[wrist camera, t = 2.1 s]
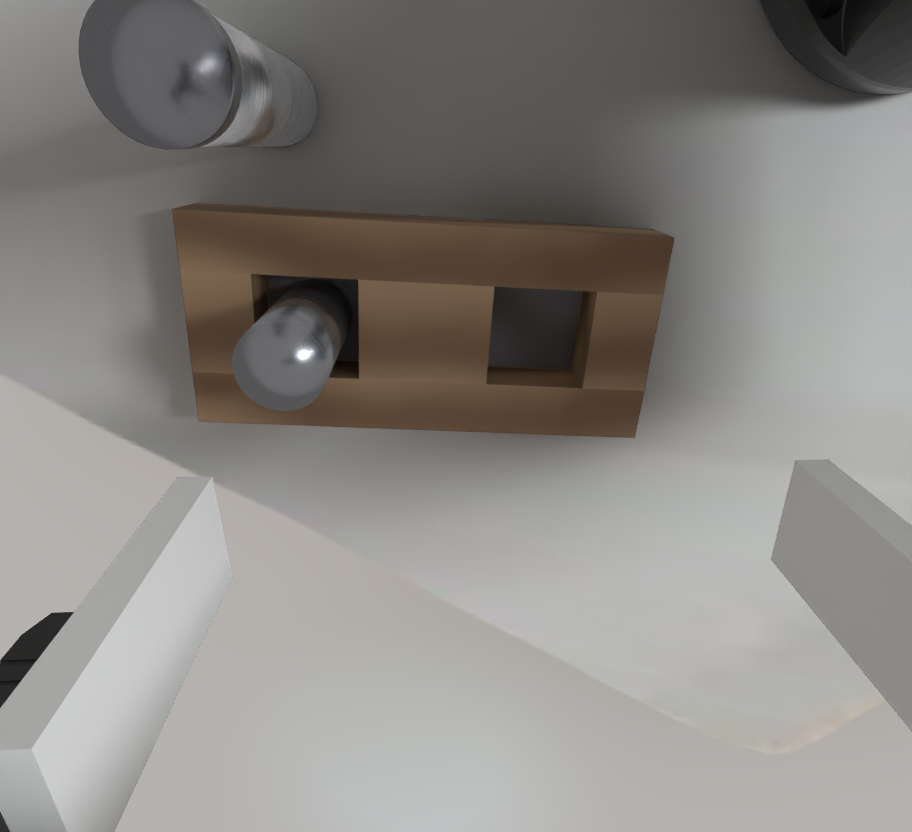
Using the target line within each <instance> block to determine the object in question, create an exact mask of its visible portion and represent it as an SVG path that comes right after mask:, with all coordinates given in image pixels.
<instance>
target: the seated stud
mask: <svg viewBox="0 0 912 832" xmlns="http://www.w3.org/2000/svg"><path fill="white" fill-rule="evenodd" d="M351 324H352V310H351V306H350V303H349V301H348V299H347V298H346V296H345V295H344V294H343V292H342V291H341V290H340V289H338V288H337V287H336V286H334V285H333V284H331V283H329V282H326V281H323V280H318V279H308V280H303V281H300V282H298V283H296V284H295V285H293V286H292V287H291V288H289V289H288V290H287V291H286V292H285V293H284V294H283V295H282V296H281V297H280V298H279V299H278V300H277V301H276V302H275V303H274V304H273V305H272V306H271V308H270V309H269V310H268V311H267V312H266V313H265V314H264V315H263V316H262V317H261V318H260V319H259V320H258V321H257V322H256V323H255V324H254V325H253V326H252V327H251V328H250V329H249V330H248V331H247V332H246V333H245V334H244V335H243V336H242V337H241V338H240V339H239V341H238V342H237V344H236V346H235V349H234V352H233V357H232V368H233V373H234V376H235V379H236V381H237V383H238V385H239V386H240V388H241V389H242V391H243V392H244V393H245V394H246V395H247V396H248V397H249V398H250V399H252V400H253V401H254V402H256V403H257V404H259V405H261V406H263V407H266V408H269V409H272V410H277V411H292V410H297V409H300V408H303V407H305V406H307V405H309V404H310V403H312V402H313V401H314V400H315V399H316V398H317V397H318V396H319V395H320V393H321V392H322V390H323V388H324V386H325V384H326V382H327V380H328V377H329V375H330V373H331V371H332V368H333V366H334V364H335V362H336V359H337V357H338V355H339V353H340V350H341V348H342V346H343V344H344V341H345V339H346V337H347V335H348V332H349V330H350V327H351Z"/></svg>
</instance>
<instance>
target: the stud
mask: <svg viewBox="0 0 912 832" xmlns="http://www.w3.org/2000/svg"><path fill="white" fill-rule="evenodd" d="M79 59H80V66H81V70H82V75H83V78H84V80H85V83H86V86H87V88H88V90H89V93H90V95H91V97H92V98H93V100H94V102H95V103H96V105H97V106H98V108H99V109H100V111H101V112H102V113H103V115H104V116H105V117H106V118H107V119H108V120H109V121H110V122H111V123H112V124H113V125H114V126H115V127H116V128H117V129H119V130H120V131H121V132H123V133H124V134H125V135H127V136H128V137H130V138H132V139H134V140H136V141H137V142H140V143H142V144H145V145H147V146H151V147H155V148H161V149H192V148H198V147H246V146H289V145H293V144H295V143H297V142H299V141H301V140H302V139H304V138H305V137H306V136H307V135H308V133H309V132H310V131H311V129H312V128H313V126H314V123H315V120H316V117H317V110H318V104H317V96H316V92H315V89H314V86H313V84H312V82H311V80H310V79H309V77H308V76H307V74H306V73H305V72H304V71H303V70H302V69H301V68H300V67H299V66H298V65H297V64H295V63H294V62H292V61H290V60H289V59H287V58H285V57H284V56H282V55H280V54H279V53H277V52H275V51H274V50H272V49H270V48H269V47H267V46H265V45H264V44H262V43H260V42H259V41H257V40H255V39H253V38H252V37H250V36H248V35H247V34H245V33H243V32H242V31H240V30H238V29H237V28H235V27H233V26H232V25H230V24H228V23H227V22H225V21H223V20H222V19H220V18H218V17H217V16H215V15H213V14H212V13H210V12H209V11H208V10H206V9H205V8H204V7H203V6H201V5H200V4H199V3H197V2H195V1H194V0H95V1H94V2H93V4H92V5H91V7H90V8H89V10H88V11H87V13H86V16H85V18H84V20H83V23H82V27H81V31H80V37H79Z"/></svg>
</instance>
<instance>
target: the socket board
mask: <svg viewBox="0 0 912 832" xmlns="http://www.w3.org/2000/svg"><path fill="white" fill-rule="evenodd" d="M172 212H173V220H174V228H175V236H176V244H177V252H178V259H179V267H180V275H181V283H182V291H183V299H184V307H185V315H186V323H187V331H188V339H189V347H190V355H191V363H192V371H193V379H194V387H195V395H196V403H197V411H198V419H199V422H225V423H252V424H279V425H306V426H333V427H360V428H387V429H413V430H440V431H467V432H494V433H521V434H548V435H575V436H602V437H628V438H635V434H636V429H637V424H638V419H639V414H640V409H641V404H642V399H643V394H644V389H645V383H646V378H647V373H648V368H649V363H650V358H651V353H652V348H653V343H654V338H655V333H656V328H657V323H658V318H659V313H660V308H661V303H662V298H663V292H664V287H665V282H666V277H667V272H668V267H669V262H670V257H671V252H672V247H673V242H674V237H671V236H669V235H666V234H664V233H661V232H658V231H656V230H653V229H640V228H623V227H605V226H588V225H570V224H553V223H535V222H518V221H500V220H483V219H465V218H448V217H430V216H413V215H395V214H378V213H360V212H343V211H325V210H307V209H290V208H272V207H255V206H237V205H220V204H202V203H196V204H192V205H188V206H184V207H179V208H175V209H172ZM308 279H318V280H323V281H326V282H329V283H331V284H333V285H334V286H336V287H337V288H338V289H340V290H341V291H342V292H343V294H344V295H345V296H346V298H347V299H348V301H349V303H350V306H351V310H352V324H351V327H350V330H349V332H348V335H347V337H346V339H345V341H344V344H343V346H342V348H341V350H340V353H339V355H338V357H337V359H336V362H335V364H334V366H333V368H332V371H331V373H330V375H329V377H328V380H327V382H326V384H325V386H324V388H323V390H322V392H321V393H320V395H319V396H318V397H317V398H316V399H315V400H314V401H313V402H312V403H310V404H309V405H307V406H305V407H303V408H300V409H297V410H292V411H277V410H272V409H269V408H266V407H263V406H261V405H259V404H257V403H256V402H254V401H253V400H252V399H250V398H249V397H248V396H247V395H246V394H245V393H244V392H243V391H242V389H241V388H240V386H239V385H238V383H237V381H236V379H235V376H234V373H233V368H232V357H233V352H234V349H235V346H236V344H237V342H238V341H239V339H240V338H241V337H242V336H243V335H244V334H245V333H246V332H247V331H248V330H249V329H250V328H251V327H252V326H253V325H254V324H255V323H256V322H257V321H258V320H259V319H260V318H261V317H262V316H263V315H264V314H265V313H266V312H267V311H268V310H269V309H270V308H271V306H272V305H273V304H274V303H275V302H276V301H277V300H278V299H279V298H280V297H281V296H282V295H283V294H284V293H285V292H286V291H287V290H288V289H289V288H291V287H292V286H293V285H295V284H296V283H298V282H300V281H303V280H308Z"/></svg>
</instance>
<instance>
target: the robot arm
mask: <svg viewBox="0 0 912 832" xmlns="http://www.w3.org/2000/svg"><path fill="white" fill-rule="evenodd" d="M761 1H762V4H763V7H764V10H765V12H766V14H767V16H768V19H769V21H770V23H771V25H772V27H773V28H774V30H775V32H776V34H777V35H778V37H779V38H780V40H781V41H782V43H783V44H784V45H785V47H786V48H787V49H788V50H789V51H790V53H791V54H792V55H793V56H794V57H795V58H796V59H797V60H798V61H799V62H800V63H801V64H802V65H803V66H805V67H806V68H807V69H808V70H810V71H811V72H812V73H814V74H815V75H817V76H818V77H820V78H822V79H824V80H826V81H827V82H829V83H832V84H834V85H836V86H839V87H842V88H845V89H848V90H852V91H856V92H861V93H869V94H900V93H908V92H912V0H761ZM771 560H772V561H773V563H774V564H775V565H776V566H777V568H778V569H779V570H780V571H781V572H782V574H783V575H784V576H785V577H786V579H787V580H788V581H789V582H790V583H791V585H792V586H793V587H794V588H795V590H796V591H797V592H798V593H799V594H800V596H801V597H802V598H803V599H804V601H805V602H806V603H807V604H808V605H809V607H810V608H811V609H812V610H813V612H814V613H815V614H816V615H817V616H818V618H819V619H820V620H821V621H822V623H823V624H824V625H825V626H826V627H827V629H828V630H829V631H830V632H831V634H832V635H833V636H834V637H835V638H836V640H837V641H838V642H839V643H840V644H841V646H842V647H843V648H844V649H845V651H846V652H847V653H848V654H849V655H850V657H851V658H852V659H853V660H854V662H855V663H856V664H857V665H858V666H859V668H860V669H861V670H862V671H863V673H864V674H865V675H866V676H867V677H868V679H869V680H870V681H871V682H872V684H873V685H874V686H875V687H876V688H877V690H878V691H879V692H880V693H881V695H882V696H883V697H884V698H885V699H886V701H887V702H888V703H889V704H890V706H891V707H892V708H893V709H894V710H895V712H896V713H897V714H898V715H899V717H900V718H901V719H902V720H903V721H904V723H905V724H906V725H907V726H908V728H909V729H910V730H911V731H912V526H911V525H910V524H909V523H908V522H906V521H905V520H904V519H902V518H901V517H900V516H899V515H897V514H896V513H895V512H894V511H892V510H891V509H890V508H889V507H887V506H886V505H885V504H884V503H882V502H881V501H880V500H879V499H877V498H876V497H875V496H873V495H872V494H871V493H870V492H868V491H867V490H866V489H865V488H863V487H862V486H861V485H860V484H858V483H857V482H856V481H855V480H853V479H852V478H851V477H850V476H848V475H847V474H846V473H844V472H843V471H842V470H841V469H839V468H838V467H837V466H836V465H834V464H833V463H832V462H831V461H829V460H798V461H795V464H794V468H793V472H792V476H791V480H790V484H789V488H788V492H787V496H786V500H785V504H784V508H783V512H782V516H781V520H780V525H779V529H778V533H777V537H776V541H775V545H774V549H773V553H772V557H771ZM231 578H232V573H231V568H230V563H229V558H228V552H227V548H226V542H225V537H224V533H223V527H222V523H221V518H220V512H219V508H218V502H217V497H216V493H215V487H214V483H213V478H212V477H178V478H177V479H176V480H175V481H174V482H173V484H172V485H171V486H170V488H169V489H168V490H167V492H166V493H165V494H164V495H163V497H162V498H161V499H160V501H159V502H158V503H157V505H156V506H155V507H154V508H153V510H152V511H151V512H150V514H149V515H148V516H147V518H146V519H145V520H144V522H143V523H142V524H141V525H140V527H139V528H138V529H137V531H136V532H135V533H134V535H133V536H132V537H131V539H130V540H129V541H128V542H127V544H126V545H125V546H124V548H123V549H122V550H121V552H120V553H119V554H118V555H117V557H116V558H115V559H114V561H113V562H112V563H111V565H110V566H109V567H108V569H107V570H106V571H105V572H104V574H103V575H102V576H101V578H100V579H99V580H98V582H97V583H96V584H95V585H94V587H93V588H92V589H91V591H90V592H89V593H88V595H87V596H86V597H85V598H84V600H83V601H82V602H81V604H80V605H79V606H78V608H77V609H76V610H75V611H74V612H63V613H51V614H50V615H48V616H47V617H45V618H44V619H43V620H42V621H40V622H39V623H37V624H36V625H35V626H33V627H32V628H30V629H29V630H28V631H26V632H25V633H24V634H22V635H21V636H20V637H19V639H18V640H17V641H16V642H15V643H14V645H13V646H12V647H11V648H10V649H9V651H8V652H7V653H6V654H5V656H4V657H3V658H2V659H1V660H0V832H115V829H116V827H117V825H118V823H119V821H120V819H121V816H122V814H123V812H124V810H125V808H126V806H127V803H128V801H129V799H130V797H131V795H132V793H133V791H134V788H135V786H136V784H137V782H138V780H139V777H140V775H141V773H142V771H143V769H144V767H145V765H146V762H147V760H148V758H149V756H150V754H151V752H152V749H153V747H154V745H155V743H156V741H157V739H158V736H159V734H160V732H161V730H162V728H163V726H164V723H165V721H166V719H167V717H168V715H169V713H170V711H171V708H172V706H173V704H174V701H175V700H176V697H177V695H178V693H179V691H180V689H181V687H182V685H183V682H184V680H185V678H186V676H187V674H188V672H189V669H190V667H191V665H192V663H193V660H194V658H195V657H196V654H197V652H198V650H199V648H200V646H201V643H202V641H203V639H204V637H205V635H206V633H207V631H208V628H209V626H210V624H211V622H212V620H213V618H214V615H215V613H216V611H217V609H218V607H219V605H220V602H221V600H222V598H223V596H224V594H225V592H226V590H227V587H228V585H229V583H230V581H231Z"/></svg>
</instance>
